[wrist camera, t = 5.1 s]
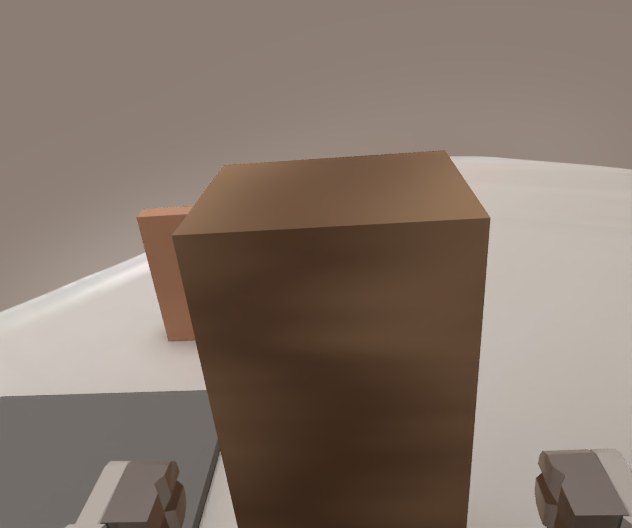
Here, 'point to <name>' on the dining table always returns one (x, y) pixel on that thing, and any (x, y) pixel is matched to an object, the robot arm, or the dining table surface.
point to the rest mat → (98, 449)
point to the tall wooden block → (340, 336)
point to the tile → (166, 268)
